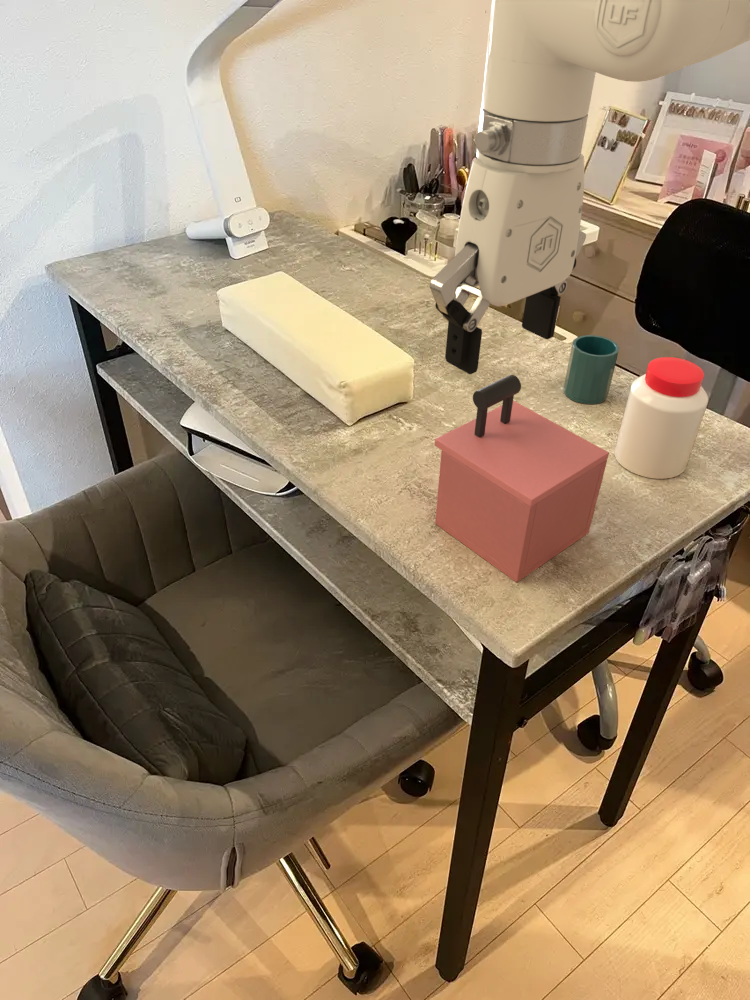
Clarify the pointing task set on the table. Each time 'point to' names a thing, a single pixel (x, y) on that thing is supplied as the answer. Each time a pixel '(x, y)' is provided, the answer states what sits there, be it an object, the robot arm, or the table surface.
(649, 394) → the pill bottle
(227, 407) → the table surface
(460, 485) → the pink box
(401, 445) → the table surface
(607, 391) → the cup
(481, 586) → the table surface
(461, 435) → the lid
